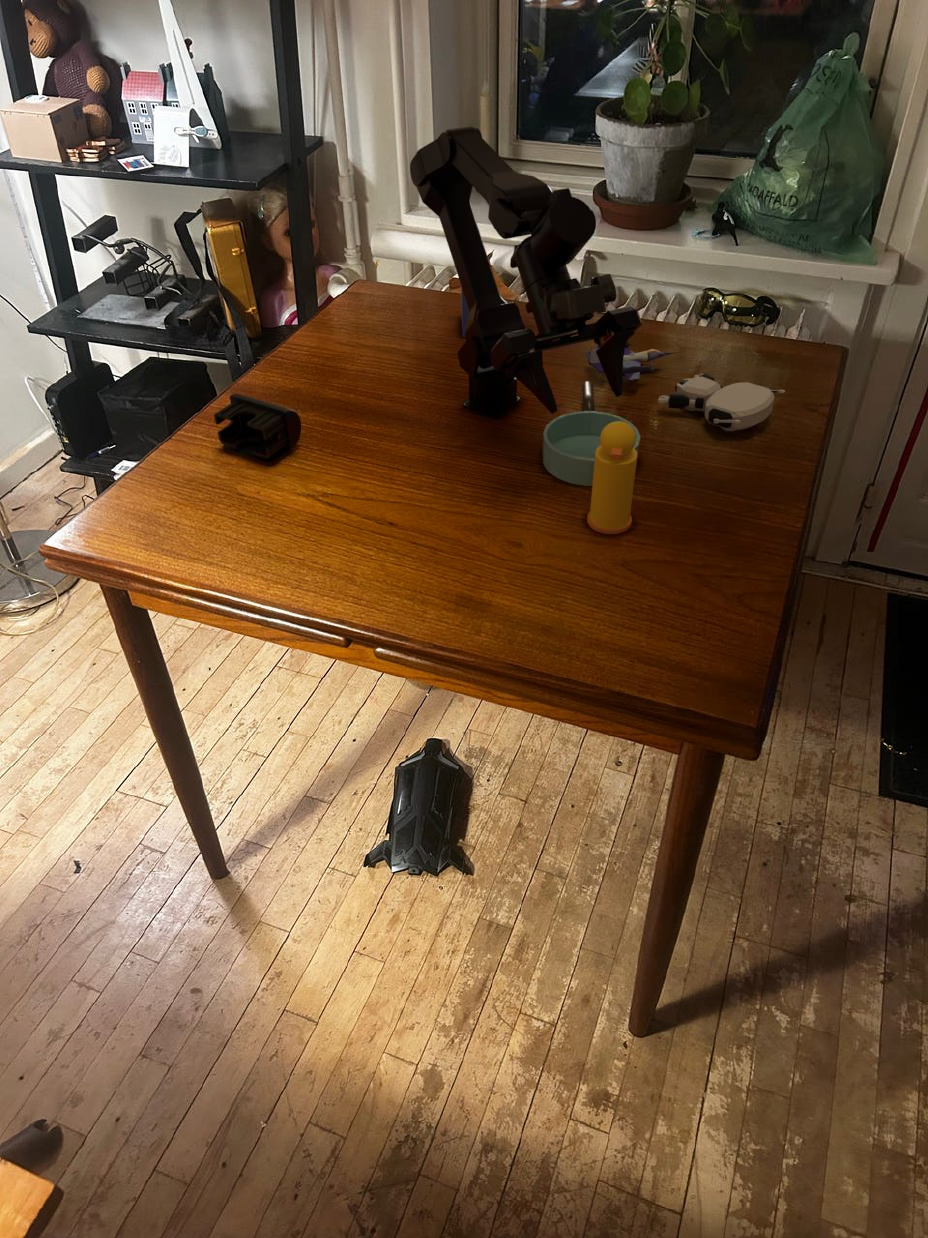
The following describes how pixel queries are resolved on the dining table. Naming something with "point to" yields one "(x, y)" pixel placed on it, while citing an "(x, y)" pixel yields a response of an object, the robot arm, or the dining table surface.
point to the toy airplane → (629, 361)
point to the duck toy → (613, 479)
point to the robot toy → (723, 401)
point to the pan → (576, 444)
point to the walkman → (464, 312)
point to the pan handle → (588, 397)
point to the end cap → (258, 429)
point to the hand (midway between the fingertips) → (587, 403)
